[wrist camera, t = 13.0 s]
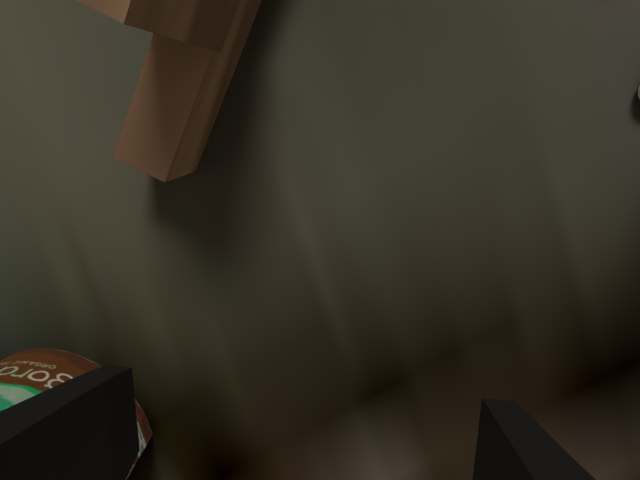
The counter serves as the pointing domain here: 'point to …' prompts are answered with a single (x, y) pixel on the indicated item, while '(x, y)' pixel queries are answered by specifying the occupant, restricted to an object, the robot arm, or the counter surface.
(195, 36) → the l-shaped wooden block
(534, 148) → the counter surface
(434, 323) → the counter surface
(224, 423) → the counter surface
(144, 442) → the food container
